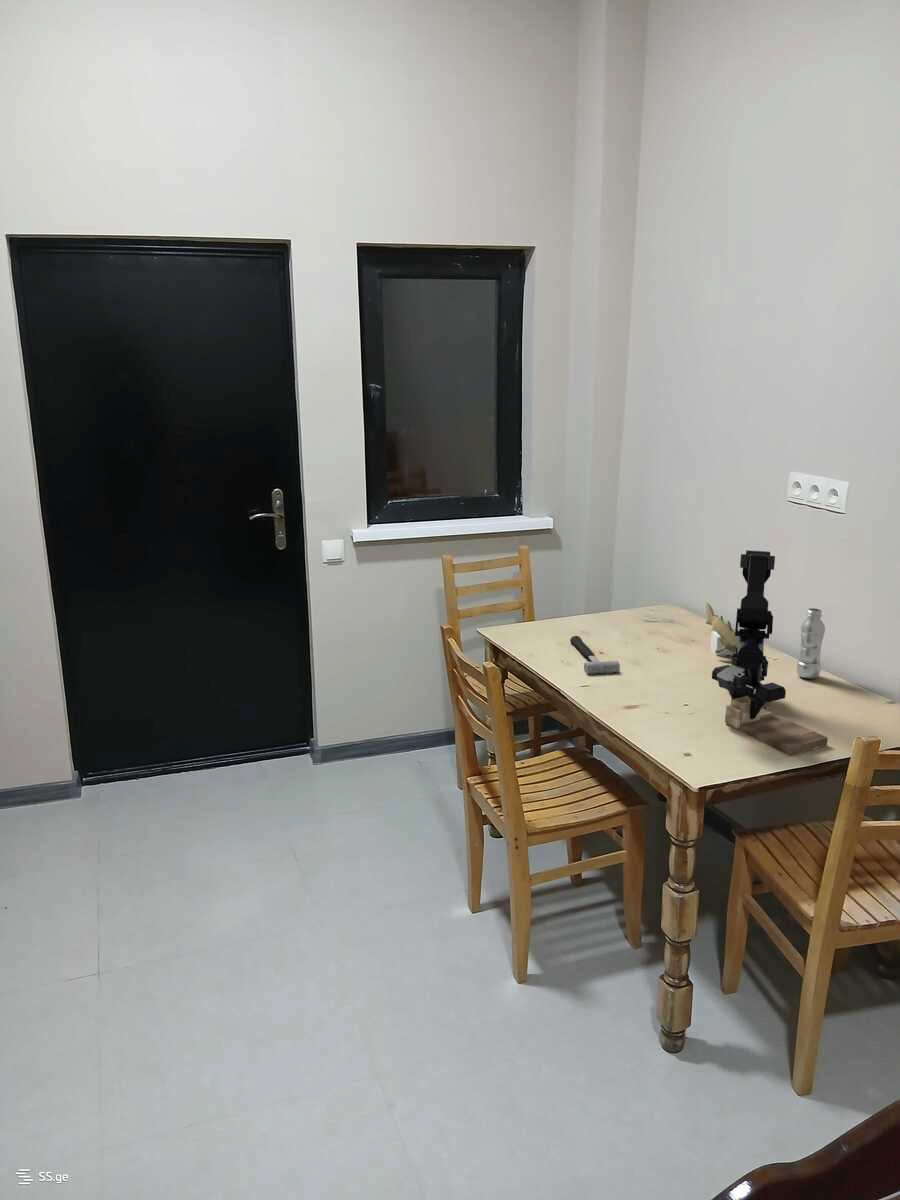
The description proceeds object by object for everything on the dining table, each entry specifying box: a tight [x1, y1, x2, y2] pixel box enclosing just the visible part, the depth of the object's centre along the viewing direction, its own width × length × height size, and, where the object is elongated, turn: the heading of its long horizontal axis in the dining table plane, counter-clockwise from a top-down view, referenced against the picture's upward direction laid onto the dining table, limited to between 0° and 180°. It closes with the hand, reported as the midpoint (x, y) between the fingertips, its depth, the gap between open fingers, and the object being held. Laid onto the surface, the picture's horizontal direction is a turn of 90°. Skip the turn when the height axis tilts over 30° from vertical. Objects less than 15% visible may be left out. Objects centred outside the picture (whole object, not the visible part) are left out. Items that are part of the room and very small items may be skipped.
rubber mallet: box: [569, 635, 621, 675], centre depth 257 cm, size 10×4×30 cm
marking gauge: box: [724, 696, 771, 728], centre depth 205 cm, size 4×12×6 cm, turn 117°
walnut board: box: [725, 708, 829, 757], centre depth 201 cm, size 20×12×2 cm, turn 27°
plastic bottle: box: [796, 608, 826, 680], centre depth 236 cm, size 6×7×20 cm
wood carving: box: [705, 601, 739, 657], centre depth 261 cm, size 9×35×11 cm, turn 179°
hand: (744, 715), depth 205 cm, fingers open, 5 cm apart
